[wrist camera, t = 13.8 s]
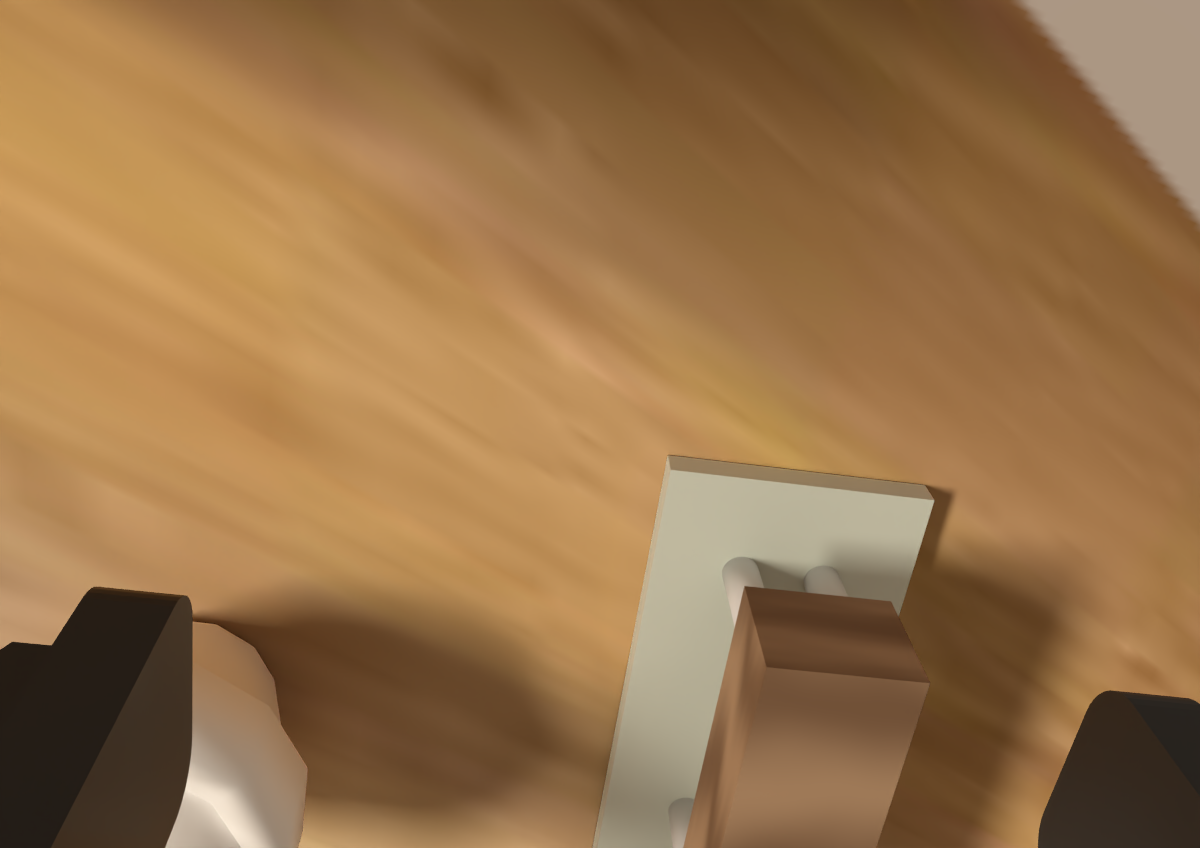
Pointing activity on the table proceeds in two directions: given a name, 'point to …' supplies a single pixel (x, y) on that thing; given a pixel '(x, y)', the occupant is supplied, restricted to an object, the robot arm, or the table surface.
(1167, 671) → the table surface
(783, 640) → the walnut shelf board
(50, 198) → the table surface
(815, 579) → the peg stand
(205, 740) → the potted plant
